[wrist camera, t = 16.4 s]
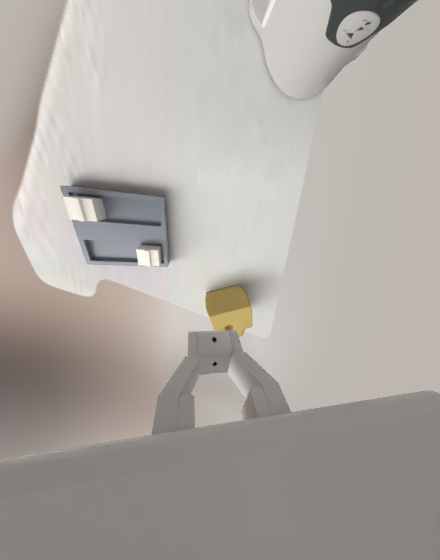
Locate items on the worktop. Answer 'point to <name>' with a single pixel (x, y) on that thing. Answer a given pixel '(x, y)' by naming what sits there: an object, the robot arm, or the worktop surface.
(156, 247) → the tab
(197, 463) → the robot arm
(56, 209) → the worktop surface
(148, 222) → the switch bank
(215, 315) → the cheese
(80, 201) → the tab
